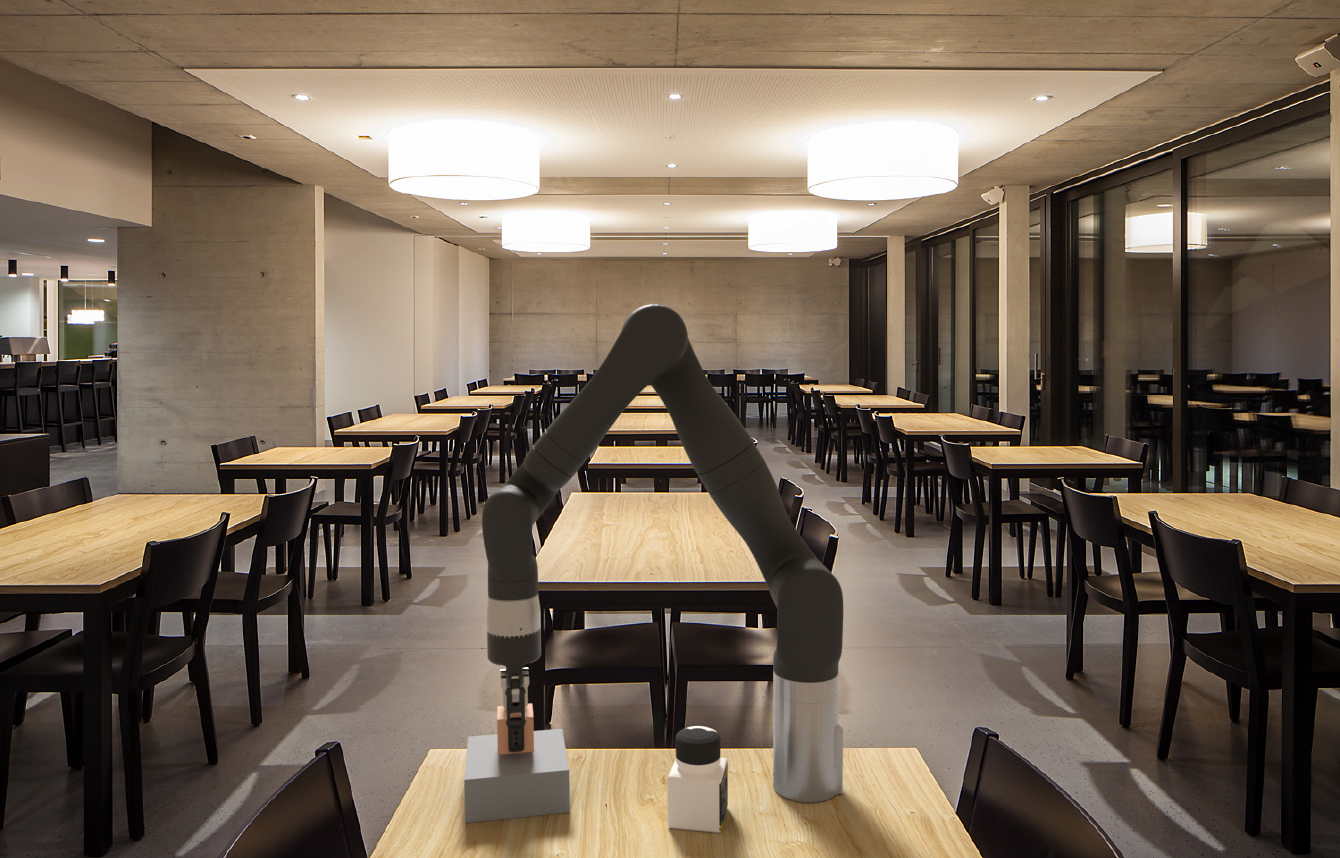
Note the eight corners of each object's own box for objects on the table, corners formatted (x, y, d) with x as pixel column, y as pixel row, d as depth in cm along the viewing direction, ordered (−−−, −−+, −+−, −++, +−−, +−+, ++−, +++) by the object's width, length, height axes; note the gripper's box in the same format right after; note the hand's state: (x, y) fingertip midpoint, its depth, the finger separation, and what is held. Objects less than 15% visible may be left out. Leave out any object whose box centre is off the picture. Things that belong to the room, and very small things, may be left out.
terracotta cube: (532, 736, 128) (532, 703, 128) (534, 751, 123) (533, 716, 123) (498, 739, 127) (497, 706, 127) (497, 754, 122) (497, 719, 122)
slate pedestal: (562, 766, 134) (562, 728, 133) (569, 812, 120) (569, 770, 120) (469, 775, 131) (468, 736, 131) (465, 823, 117) (464, 779, 117)
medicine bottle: (720, 834, 114) (720, 745, 113) (667, 829, 116) (666, 740, 115) (728, 807, 121) (727, 723, 120) (677, 802, 123) (677, 719, 122)
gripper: (542, 639, 118) (545, 762, 119) (538, 610, 132) (540, 720, 133) (486, 643, 116) (488, 767, 117) (487, 613, 130) (489, 724, 131)
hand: (516, 742), depth 125 cm, fingers closed on terracotta cube, 5 cm apart
